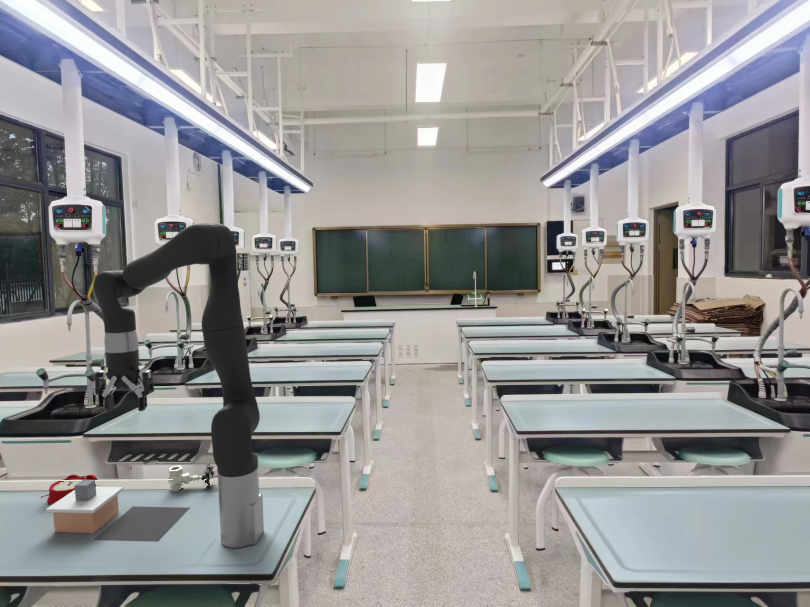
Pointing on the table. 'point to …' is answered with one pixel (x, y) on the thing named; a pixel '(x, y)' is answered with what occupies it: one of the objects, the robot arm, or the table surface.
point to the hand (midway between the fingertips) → (126, 410)
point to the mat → (143, 524)
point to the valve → (187, 477)
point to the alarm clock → (65, 487)
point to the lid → (85, 498)
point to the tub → (85, 519)
